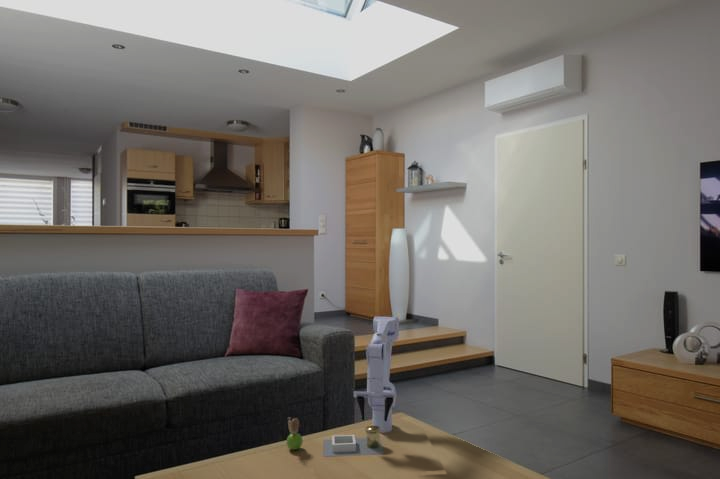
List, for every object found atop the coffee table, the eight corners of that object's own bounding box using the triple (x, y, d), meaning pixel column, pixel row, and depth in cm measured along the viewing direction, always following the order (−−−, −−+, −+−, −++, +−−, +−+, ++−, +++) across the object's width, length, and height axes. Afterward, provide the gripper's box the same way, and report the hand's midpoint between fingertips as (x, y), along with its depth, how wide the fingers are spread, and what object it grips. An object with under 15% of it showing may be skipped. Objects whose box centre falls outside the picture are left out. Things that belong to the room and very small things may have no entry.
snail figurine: (282, 452, 168) (281, 416, 168) (291, 445, 174) (291, 410, 174) (296, 454, 166) (295, 418, 166) (305, 447, 172) (305, 412, 172)
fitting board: (323, 442, 175) (323, 432, 175) (379, 440, 177) (379, 430, 177) (323, 459, 161) (323, 448, 161) (384, 457, 163) (384, 446, 163)
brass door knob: (365, 443, 172) (364, 425, 172) (379, 442, 172) (379, 425, 172) (366, 449, 167) (366, 431, 167) (381, 448, 167) (380, 430, 167)
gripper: (355, 378, 167) (353, 420, 164) (397, 379, 168) (397, 422, 165) (354, 377, 174) (352, 418, 171) (394, 379, 175) (394, 420, 172)
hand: (374, 420), depth 168 cm, fingers open, 7 cm apart
